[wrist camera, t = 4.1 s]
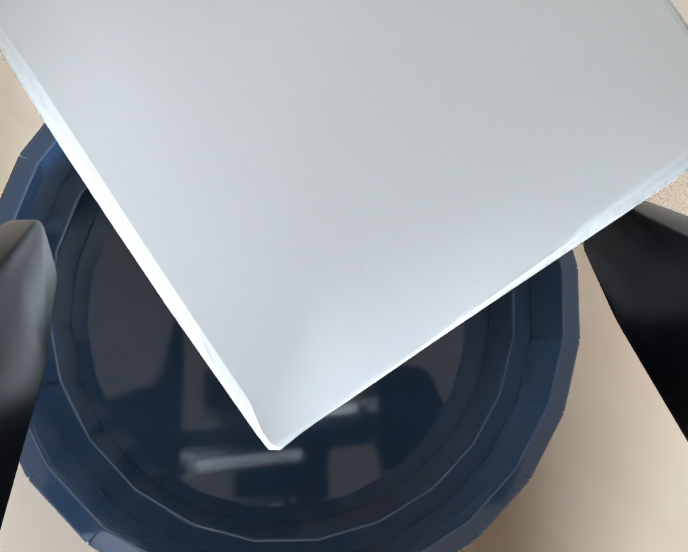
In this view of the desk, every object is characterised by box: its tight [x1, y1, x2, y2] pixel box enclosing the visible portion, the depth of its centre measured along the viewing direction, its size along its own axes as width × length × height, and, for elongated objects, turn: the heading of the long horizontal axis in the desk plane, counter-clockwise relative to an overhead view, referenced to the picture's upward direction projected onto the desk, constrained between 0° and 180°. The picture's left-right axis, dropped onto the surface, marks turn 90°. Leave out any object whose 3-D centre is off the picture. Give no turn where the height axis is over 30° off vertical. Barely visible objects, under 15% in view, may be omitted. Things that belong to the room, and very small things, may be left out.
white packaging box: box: [0, 0, 688, 450], centre depth 13 cm, size 7×7×13 cm
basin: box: [0, 123, 580, 552], centre depth 17 cm, size 15×15×4 cm
